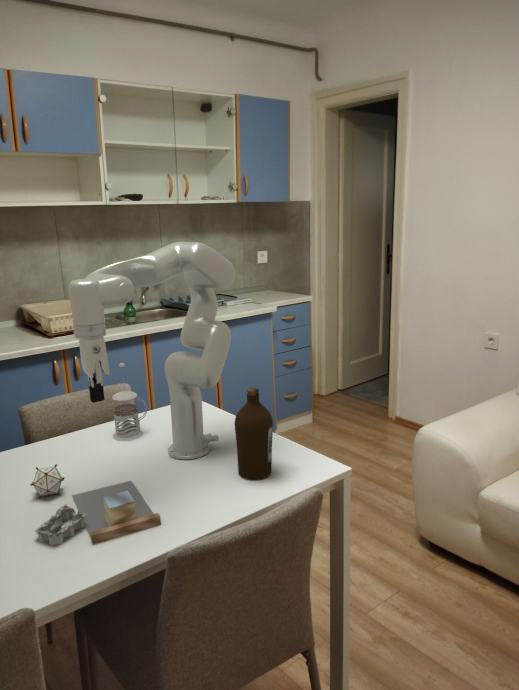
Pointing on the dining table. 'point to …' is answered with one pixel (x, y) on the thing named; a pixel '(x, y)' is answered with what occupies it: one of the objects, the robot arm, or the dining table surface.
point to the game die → (47, 481)
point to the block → (119, 508)
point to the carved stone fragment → (53, 526)
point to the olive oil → (254, 438)
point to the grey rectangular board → (94, 504)
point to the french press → (128, 429)
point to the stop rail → (125, 528)
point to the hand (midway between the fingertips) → (97, 400)
